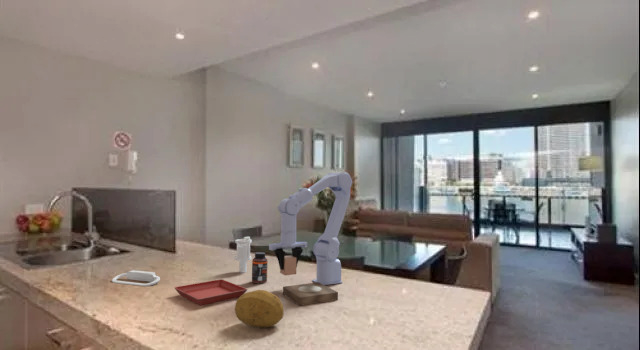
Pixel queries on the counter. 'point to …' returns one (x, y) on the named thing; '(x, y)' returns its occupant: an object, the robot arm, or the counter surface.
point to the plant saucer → (210, 292)
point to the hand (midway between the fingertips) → (288, 268)
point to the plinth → (310, 293)
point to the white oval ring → (138, 278)
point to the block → (289, 265)
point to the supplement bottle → (259, 268)
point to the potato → (259, 309)
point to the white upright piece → (243, 253)
